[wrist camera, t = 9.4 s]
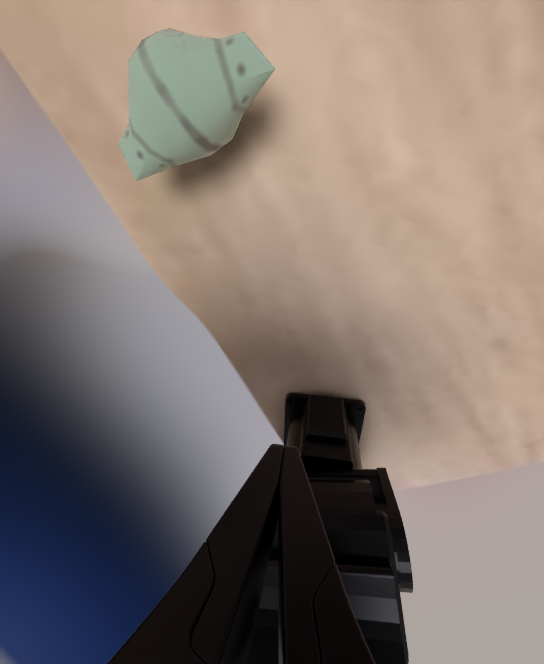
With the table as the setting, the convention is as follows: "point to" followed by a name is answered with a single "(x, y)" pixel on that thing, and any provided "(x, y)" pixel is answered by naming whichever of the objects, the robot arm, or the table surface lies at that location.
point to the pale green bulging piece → (188, 97)
